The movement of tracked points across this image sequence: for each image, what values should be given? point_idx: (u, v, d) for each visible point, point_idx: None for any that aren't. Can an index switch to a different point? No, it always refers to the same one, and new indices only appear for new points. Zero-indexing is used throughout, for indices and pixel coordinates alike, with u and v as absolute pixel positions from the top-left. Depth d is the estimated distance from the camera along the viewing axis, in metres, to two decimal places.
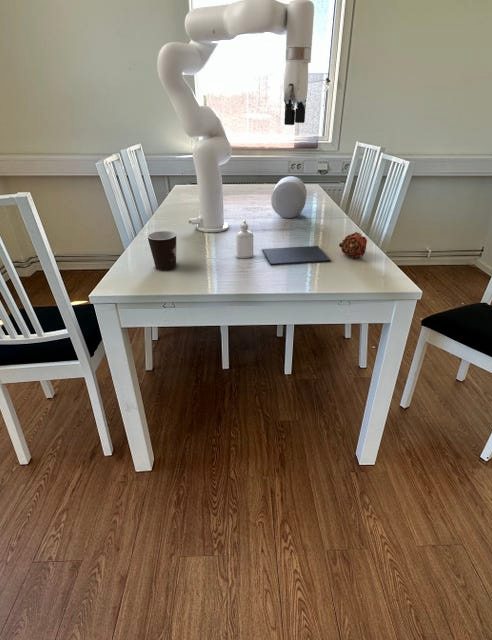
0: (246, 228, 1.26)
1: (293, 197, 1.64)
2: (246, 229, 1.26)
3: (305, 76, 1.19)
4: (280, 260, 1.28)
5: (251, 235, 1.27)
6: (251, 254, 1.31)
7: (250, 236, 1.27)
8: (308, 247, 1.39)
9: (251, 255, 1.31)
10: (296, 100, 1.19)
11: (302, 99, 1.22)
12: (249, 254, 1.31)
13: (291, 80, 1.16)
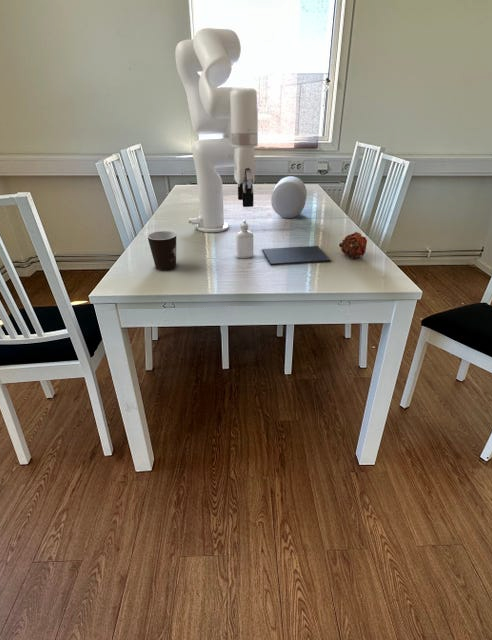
0: (246, 228, 1.26)
1: (293, 197, 1.64)
2: (246, 229, 1.26)
3: None
4: (280, 260, 1.28)
5: (251, 235, 1.27)
6: (251, 254, 1.31)
7: (250, 236, 1.27)
8: (308, 247, 1.39)
9: (251, 255, 1.31)
10: None
11: None
12: (249, 254, 1.31)
13: (247, 164, 1.12)
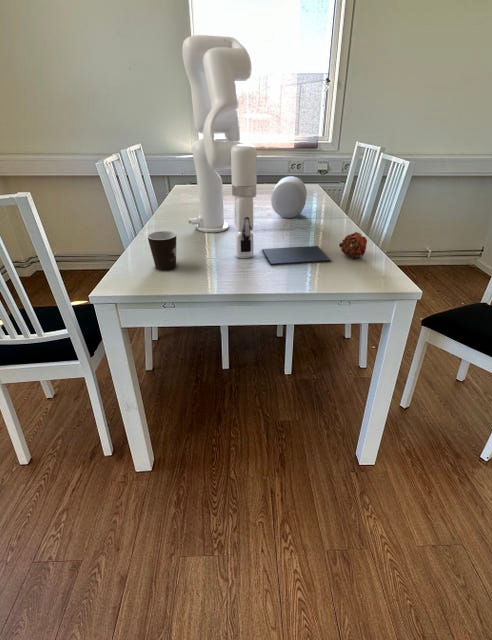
0: None
1: (293, 197, 1.64)
2: None
3: None
4: (280, 260, 1.28)
5: (251, 235, 1.27)
6: (251, 254, 1.31)
7: (250, 236, 1.27)
8: (308, 247, 1.39)
9: (251, 255, 1.31)
10: (251, 230, 1.23)
11: None
12: (249, 254, 1.31)
13: (247, 214, 1.20)
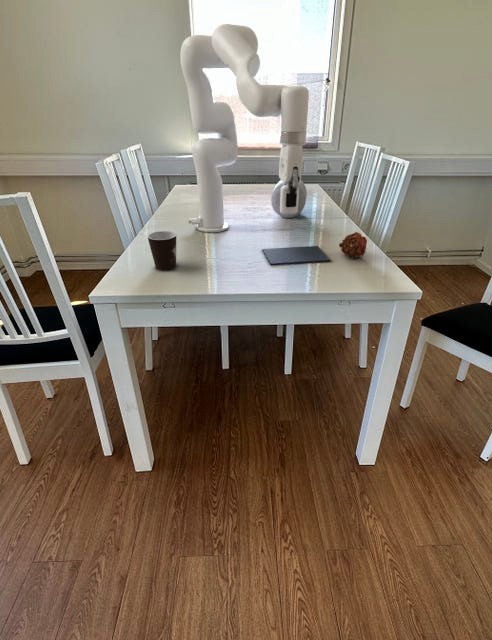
0: (292, 181, 1.19)
1: None
2: None
3: None
4: (280, 260, 1.28)
5: (297, 189, 1.20)
6: (296, 210, 1.24)
7: None
8: (308, 247, 1.39)
9: (296, 211, 1.24)
10: (299, 181, 1.16)
11: None
12: (294, 210, 1.23)
13: (296, 163, 1.12)
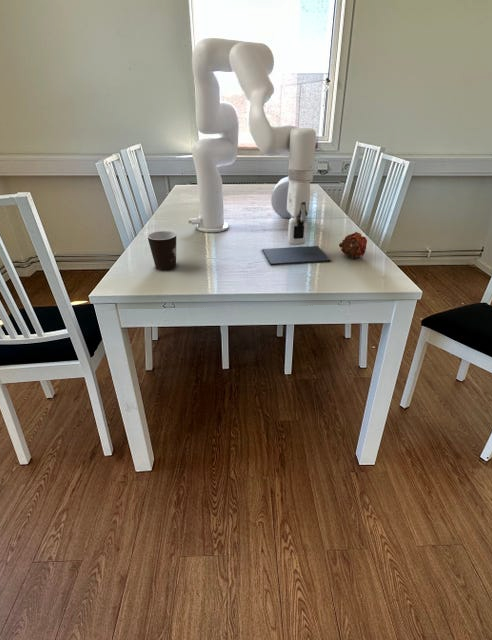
0: (300, 214, 1.24)
1: None
2: (300, 215, 1.25)
3: None
4: (280, 260, 1.28)
5: None
6: (303, 241, 1.29)
7: None
8: (308, 247, 1.39)
9: (303, 242, 1.30)
10: (306, 215, 1.22)
11: None
12: (301, 241, 1.29)
13: (303, 199, 1.18)
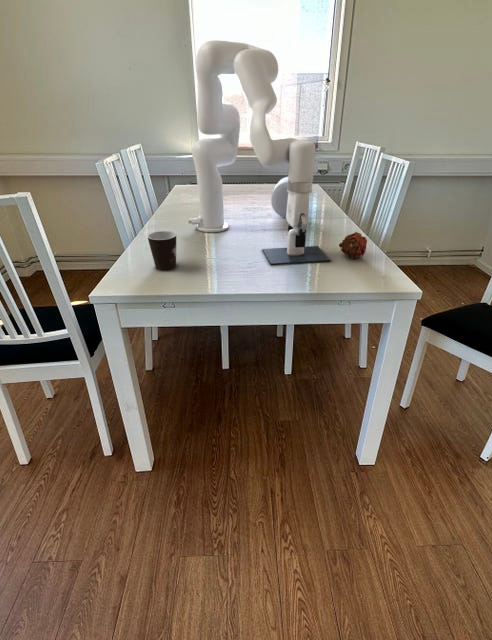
0: None
1: None
2: None
3: None
4: (280, 260, 1.28)
5: None
6: (302, 251, 1.32)
7: None
8: (308, 247, 1.39)
9: (302, 252, 1.32)
10: None
11: None
12: (300, 251, 1.31)
13: (303, 210, 1.20)
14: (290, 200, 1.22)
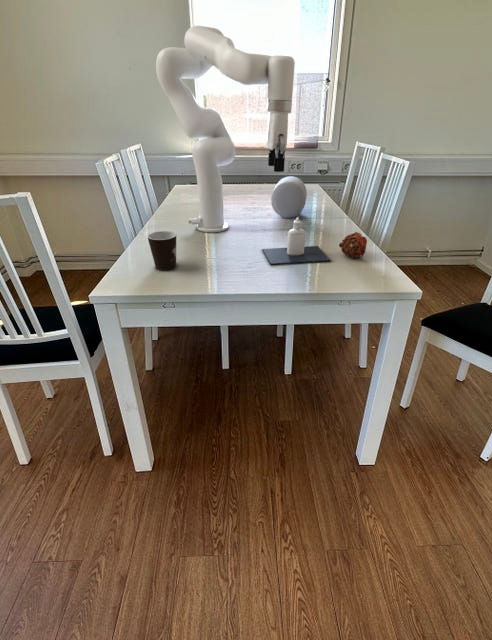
0: (299, 225, 1.26)
1: (293, 197, 1.64)
2: (299, 226, 1.27)
3: None
4: (280, 260, 1.28)
5: (303, 232, 1.28)
6: (302, 251, 1.32)
7: (302, 234, 1.28)
8: (308, 247, 1.39)
9: (302, 252, 1.32)
10: (284, 149, 1.23)
11: None
12: (300, 251, 1.31)
13: (281, 130, 1.19)
14: (269, 121, 1.21)
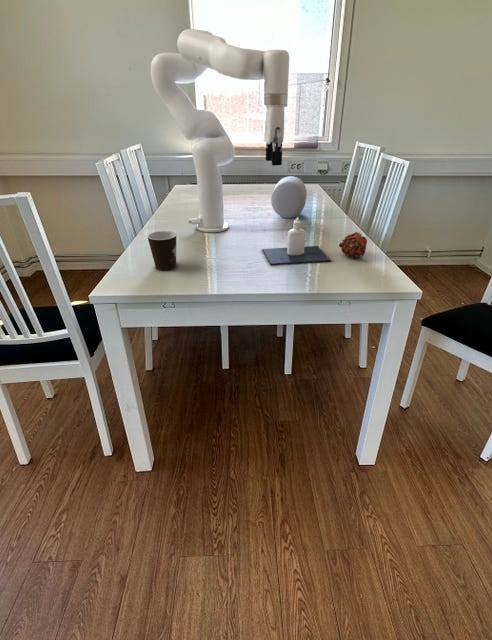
0: (299, 225, 1.26)
1: (293, 197, 1.64)
2: (299, 226, 1.27)
3: None
4: (280, 260, 1.28)
5: (303, 232, 1.28)
6: (302, 251, 1.32)
7: (302, 234, 1.28)
8: (308, 247, 1.39)
9: (302, 252, 1.32)
10: (282, 142, 1.23)
11: None
12: (300, 251, 1.31)
13: (278, 124, 1.20)
14: (266, 115, 1.22)
